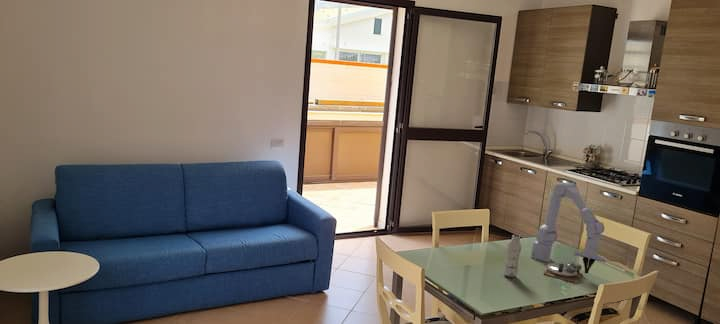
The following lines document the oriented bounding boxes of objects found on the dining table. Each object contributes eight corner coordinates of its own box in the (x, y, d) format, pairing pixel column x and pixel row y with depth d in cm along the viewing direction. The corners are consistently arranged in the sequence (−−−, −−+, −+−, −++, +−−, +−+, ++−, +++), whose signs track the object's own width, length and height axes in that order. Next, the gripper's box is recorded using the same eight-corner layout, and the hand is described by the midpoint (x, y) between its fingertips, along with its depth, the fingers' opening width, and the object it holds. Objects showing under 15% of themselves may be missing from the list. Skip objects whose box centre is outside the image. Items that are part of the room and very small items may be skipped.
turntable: (544, 271, 272) (546, 260, 271) (549, 264, 284) (551, 253, 283) (574, 279, 266) (576, 268, 265) (578, 271, 278) (580, 260, 277)
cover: (564, 270, 272) (565, 262, 271) (566, 267, 276) (567, 260, 276) (575, 273, 270) (576, 265, 269) (576, 270, 274) (578, 262, 273)
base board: (543, 274, 271) (545, 264, 270) (549, 265, 285) (550, 256, 284) (577, 283, 263) (579, 273, 263) (582, 274, 277) (583, 264, 276)
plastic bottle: (517, 275, 265) (524, 235, 262) (515, 280, 259) (522, 239, 256) (504, 272, 268) (510, 232, 264) (501, 276, 262) (508, 236, 258)
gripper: (574, 244, 267) (569, 270, 269) (607, 252, 260) (601, 279, 263) (576, 240, 273) (571, 266, 276) (608, 248, 267) (602, 275, 269)
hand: (586, 272), depth 270 cm, fingers closed
